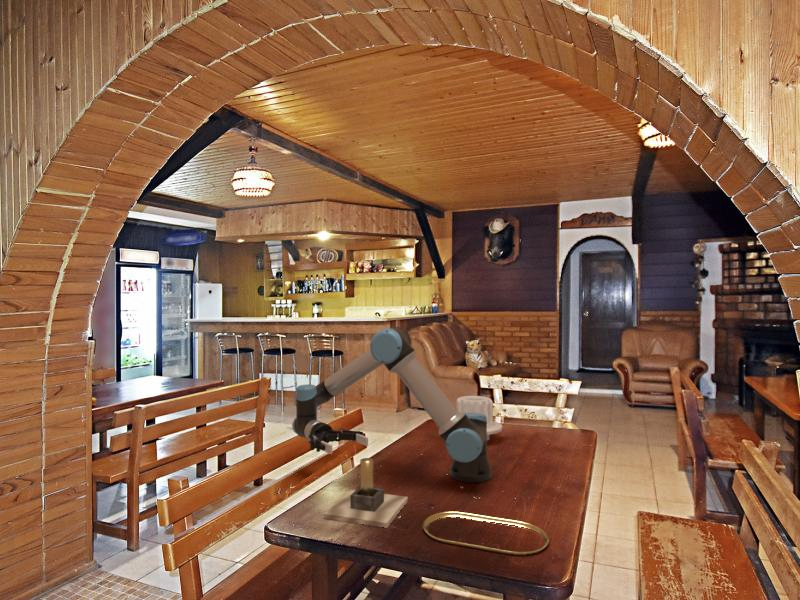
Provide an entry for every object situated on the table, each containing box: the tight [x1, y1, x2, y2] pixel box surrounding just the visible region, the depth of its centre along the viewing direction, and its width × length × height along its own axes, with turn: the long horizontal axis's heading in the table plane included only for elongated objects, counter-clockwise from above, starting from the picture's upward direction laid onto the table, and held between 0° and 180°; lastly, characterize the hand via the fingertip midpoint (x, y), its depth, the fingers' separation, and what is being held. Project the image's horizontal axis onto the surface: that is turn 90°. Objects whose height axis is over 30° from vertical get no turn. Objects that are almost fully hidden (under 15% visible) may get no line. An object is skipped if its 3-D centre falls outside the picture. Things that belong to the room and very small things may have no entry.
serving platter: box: [422, 511, 550, 556], centre depth 145 cm, size 19×35×2 cm, turn 69°
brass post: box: [359, 457, 375, 497], centre depth 161 cm, size 4×4×14 cm
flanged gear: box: [456, 395, 503, 441], centre depth 238 cm, size 25×25×19 cm
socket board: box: [323, 485, 409, 529], centre depth 161 cm, size 20×20×6 cm
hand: (349, 445), depth 168 cm, fingers open, 13 cm apart
